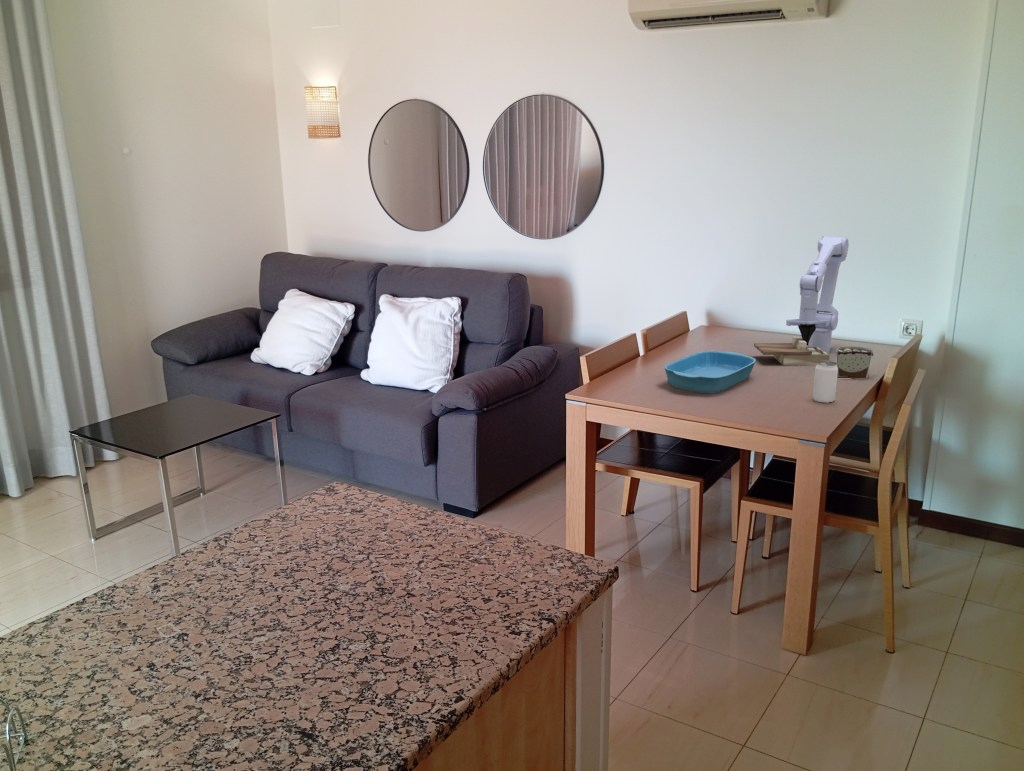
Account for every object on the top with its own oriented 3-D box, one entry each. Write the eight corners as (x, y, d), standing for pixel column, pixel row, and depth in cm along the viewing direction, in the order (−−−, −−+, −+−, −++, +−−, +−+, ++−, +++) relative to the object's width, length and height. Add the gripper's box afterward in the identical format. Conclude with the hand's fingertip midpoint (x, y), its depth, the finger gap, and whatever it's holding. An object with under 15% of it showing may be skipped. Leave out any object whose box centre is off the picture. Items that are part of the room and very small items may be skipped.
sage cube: (805, 361, 293) (806, 352, 292) (814, 360, 294) (815, 351, 293) (811, 364, 290) (812, 354, 289) (820, 363, 291) (821, 353, 290)
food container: (865, 374, 279) (868, 346, 276) (870, 378, 273) (874, 350, 270) (828, 373, 280) (831, 345, 277) (833, 378, 274) (836, 350, 271)
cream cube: (802, 357, 300) (802, 347, 299) (811, 357, 300) (812, 347, 299) (805, 359, 296) (806, 350, 295) (815, 359, 296) (815, 350, 295)
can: (809, 397, 253) (812, 360, 250) (829, 396, 254) (832, 360, 250) (818, 403, 247) (821, 365, 244) (838, 402, 247) (842, 365, 244)
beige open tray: (773, 358, 302) (774, 346, 300) (816, 358, 301) (817, 346, 300) (783, 367, 289) (784, 355, 288) (828, 367, 289) (829, 354, 287)
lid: (753, 345, 301) (754, 335, 300) (799, 345, 300) (800, 335, 299) (763, 354, 288) (764, 343, 287) (811, 354, 287) (812, 343, 286)
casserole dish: (714, 401, 252) (715, 379, 250) (652, 388, 266) (653, 368, 264) (764, 376, 279) (765, 356, 277) (705, 366, 293) (706, 347, 291)
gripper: (791, 310, 286) (788, 347, 290) (832, 309, 285) (829, 347, 289) (785, 306, 293) (782, 343, 296) (826, 306, 292) (822, 342, 296)
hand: (805, 344), depth 293 cm, fingers closed
